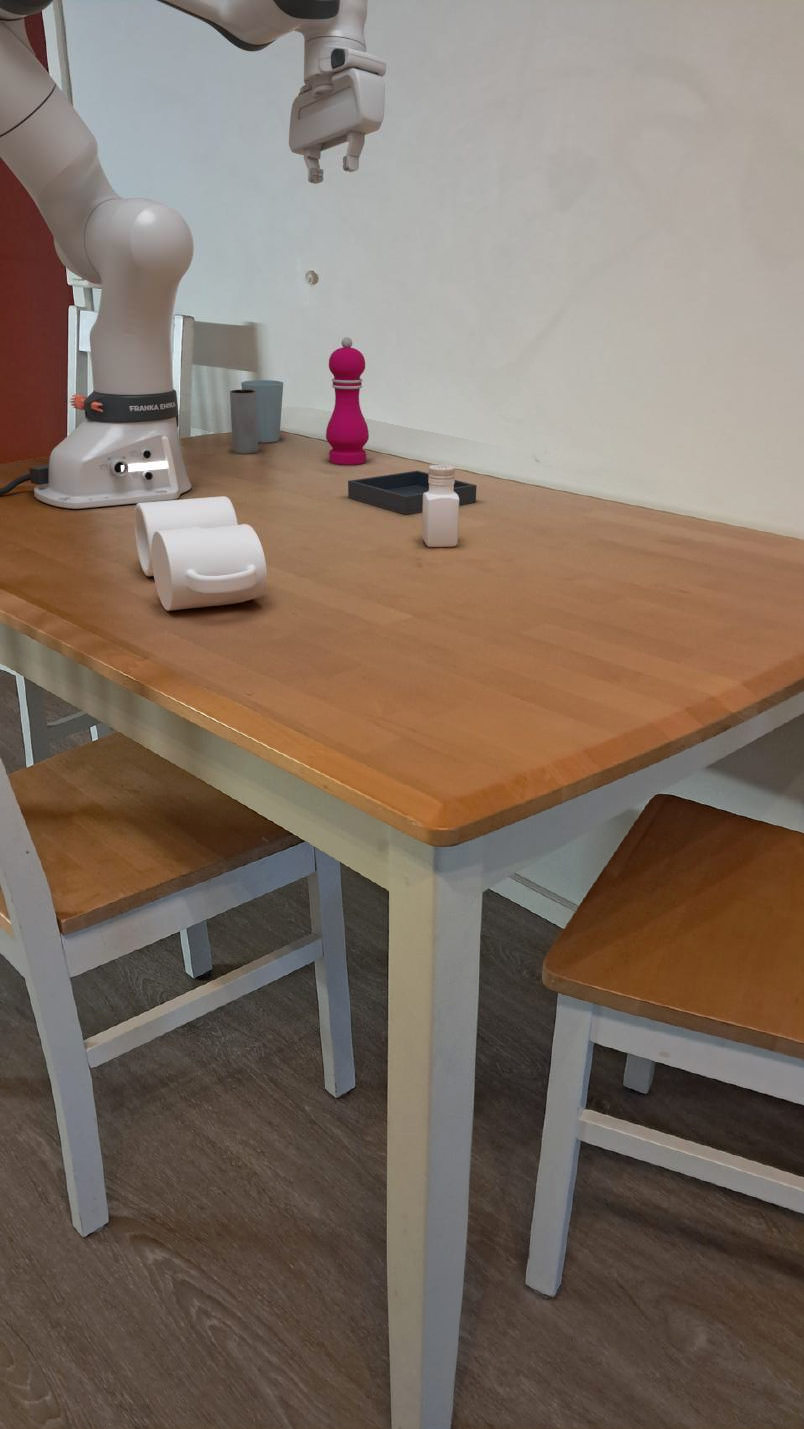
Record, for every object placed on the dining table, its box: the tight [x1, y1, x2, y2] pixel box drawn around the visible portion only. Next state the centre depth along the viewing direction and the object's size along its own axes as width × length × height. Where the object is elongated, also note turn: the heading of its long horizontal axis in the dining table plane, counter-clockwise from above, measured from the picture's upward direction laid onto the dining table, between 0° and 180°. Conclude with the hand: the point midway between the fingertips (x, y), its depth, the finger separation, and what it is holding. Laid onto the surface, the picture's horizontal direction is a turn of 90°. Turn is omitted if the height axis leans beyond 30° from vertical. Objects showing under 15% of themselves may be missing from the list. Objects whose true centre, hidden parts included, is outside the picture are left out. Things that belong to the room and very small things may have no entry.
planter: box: [229, 389, 260, 455], centre depth 186 cm, size 4×4×10 cm
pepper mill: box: [325, 336, 370, 466], centre depth 177 cm, size 7×7×20 cm
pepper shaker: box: [421, 464, 460, 548], centre depth 130 cm, size 4×4×10 cm
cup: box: [240, 379, 284, 444], centre depth 197 cm, size 8×8×10 cm
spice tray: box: [347, 470, 478, 516], centre depth 154 cm, size 13×13×2 cm
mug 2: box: [151, 523, 268, 612], centre depth 107 cm, size 12×9×8 cm
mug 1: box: [133, 495, 239, 577], centre depth 120 cm, size 12×10×8 cm
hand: (332, 176), depth 155 cm, fingers open, 8 cm apart
